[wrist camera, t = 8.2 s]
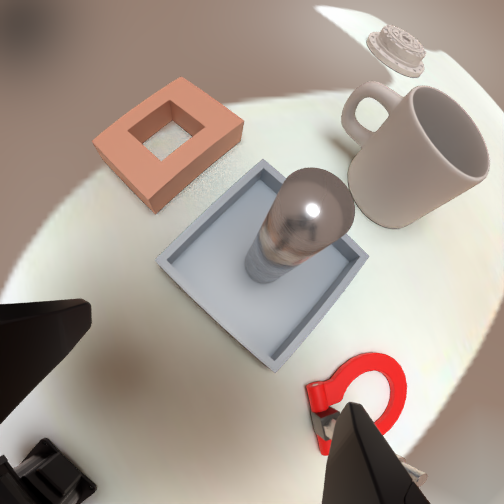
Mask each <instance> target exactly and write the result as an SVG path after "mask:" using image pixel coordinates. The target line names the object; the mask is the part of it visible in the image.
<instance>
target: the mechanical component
mask: <svg viewBox="0 0 504 504" xmlns="http://www.w3.org/2000/svg"><path fill="white" fill-rule="evenodd" d="M367 45H368V47H369V49H370V50H371V52H372V53H373V54H374V55H375V56H376V57H377V58H378V59H379V60H381V61H382V62H383V63H384V64H386V65H387V66H389V67H390V68H392V69H393V70H395V71H397V72H399V73H401V74H403V75H406V76H409V77H419V76H420V75H421V74H422V73H423V71H424V65H423V62H422V59H423V58H424V57H425V54H426V52H425V51H424V49H423V46H422V45H421V43H420V42H419V41H417V39H416V38H414V37H413V36H411V35H410V34H408V33H407V32H406V31H403V30H401V29H399V28H398V27H396V26H395V27H394V26H393V25H391V26H390V25H387V26H385V27H383V29H382V30H381V32H373V33H371V34H370V35H369V37H368V39H367Z"/></svg>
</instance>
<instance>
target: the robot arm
mask: <svg viewBox="0 0 504 504" xmlns="http://www.w3.org/2000/svg"><path fill="white" fill-rule="evenodd" d="M91 323H92V318H91V305H90V303H89V302H87V301H85V300H84V299H68V300H56V301H43V302H29V303H14V304H0V424H1V423H2V422H3V421H4V420H5V419H6V418H7V417H8V415H9V414H10V413H11V412H12V411H13V410H14V409H15V408H16V407H17V406H18V405H19V404H20V403H21V402H22V401H23V399H24V398H25V397H26V396H27V395H28V394H29V393H30V392H31V391H32V390H33V389H34V388H35V387H36V386H37V385H38V384H39V383H40V382H41V381H42V380H43V379H44V378H45V377H46V376H47V375H48V374H49V373H50V372H51V371H52V370H53V369H54V368H55V367H56V366H57V365H58V364H59V363H60V362H61V361H62V360H63V359H64V358H65V357H66V356H67V355H68V354H69V352H70V351H71V350H72V349H73V348H74V346H75V345H76V344H77V343H78V342H79V340H80V339H81V338H82V337H83V336H84V334H85V333H86V332H87V331H88V330H89V328H90V327H91ZM45 443H46V444H47V445H46V444H45ZM90 486H91V487H92V488H91V487H90ZM96 490H97V487H96V485H95V484H94V483H93V482H91V481H90V480H89V479H88V478H87V477H86V476H85V475H83V474H82V473H81V472H80V471H79V470H78V469H77V468H76V467H75V466H74V465H73V464H72V463H71V462H70V461H69V460H67V459H66V458H65V457H64V456H63V455H62V454H61V453H60V451H59V450H58V449H57V448H56V447H55V446H54V445H53V444H52V443H51V442H50V441H49V440H48V439H47V438H43V439H41V440H40V441H39V443H38V444H37V445H36V446H35V447H34V448H33V450H32V451H31V452H30V453H29V454H28V455H27V457H26V458H25V459H24V460H23V461H22V463H21V464H20V465H18V466H17V467H15V468H14V469H13V468H12V467H11V465H10V464H9V463H8V460H7V458H6V457H5V456H4V455H2V456H0V504H80V503H82V502H83V501H84V500H85V499H87V498H88V497H89V496H91V495H92V494H93V493H94V492H95V491H96ZM322 504H430V502H429V501H428V500H427V499H426V497H425V496H424V494H423V493H422V492H421V490H420V489H419V487H418V486H417V485H416V483H415V482H414V481H413V479H412V477H411V476H410V474H409V473H408V472H407V470H406V469H405V467H404V466H403V464H402V463H401V461H400V460H399V458H398V457H397V456H396V454H395V453H394V451H393V450H392V448H391V447H390V445H389V444H388V442H387V441H386V440H385V438H384V437H383V435H382V434H381V432H380V431H379V429H378V428H377V426H376V425H375V424H374V422H373V421H372V419H371V418H370V416H369V415H368V413H367V412H366V411H365V409H364V408H363V406H362V405H361V404H358V403H354V402H348V403H347V404H346V406H345V407H344V409H343V410H342V412H341V413H340V415H339V417H338V418H337V420H336V422H335V426H334V431H333V436H332V441H331V446H330V450H329V455H328V460H327V464H326V472H325V482H324V490H323V498H322Z"/></svg>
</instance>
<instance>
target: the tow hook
mask: <svg viewBox="0 0 504 504" xmlns="http://www.w3.org/2000/svg"><path fill="white" fill-rule="evenodd" d="M373 370H376V371H379V372H381V373H382V374H383V375H384V376H385V377H386V378H387V380H388V382H389V384H390V390H391V392H390V400H389V404H388V406H387V408H386V410H385V412H384V413H383V415H382V416H381V417H380V418H379V419H378V420H377V421H376V422H375V423H374V424H375V425H376V426H377V428H378V429H379V431H380V432H381V434H382V435H384V434H385V433H386V432H387V431H389V430H390V429H391V427H392V426H393V425H394V424H395V422H396V421H397V420H398V418H399V416H400V414H401V412H402V410H403V407H404V404H405V400H406V394H407V383H406V377H405V374H404V372H403V370H402V368H401V366H400V365H399V364H398V362H397V361H396V360H395V359H394V358H392V357H390V356H388V355H386V354H380V353H373V352H371V353H365V354H360V355H358V356H356V357H353V358H351V359H349V360H348V361H347V362H346V363H344V364H343V365H342V366H340V367H339V369H338V370H337V371H336V372H335V373H334V375H333V376H332V377H331V379H329V380H327V381H324V382H323V381H317V382H313V383H310V384H308V385H307V386H306V388H307V392H308V397H309V401H310V406H311V416H312V421H313V425H314V430H315V433H316V434H317V438H318V443H319V447H320V452H321V454H322V455H324V456H327V455H329V450H330V446H331V441H332V436H333V431H334V426H335V422H336V420H337V418H338V417H339V415H340V412H339V411H337V410H335V409H334V408H332V407H330V406H331V405H333V404H336V403H338V402H340V401H341V400H342V399H343V395H344V393H345V391H346V389H347V387H348V386H349V385H350V384H351V382H352V381H353V380H354V379H355V378H357V377H358V376H359V375H361V374H363V373H365V372H367V371H373ZM396 456H397V457H398V458H399V460H400V461H401V463H402V464H403V466H404V467H405V469H406V470H407V472H408V473H409V474H410V476H411V477H412V479H413V481H414V482H415V483H416V485H417V486H418V487H419V486H421V485H423V484H424V483H425V482H426V480H427V474H426V473H424V472H422V471H419V470H418V469H416V468H414V467H412V466H410V465H408V464H406V460H405V458H403V457H401V456H399V455H397V454H396Z"/></svg>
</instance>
